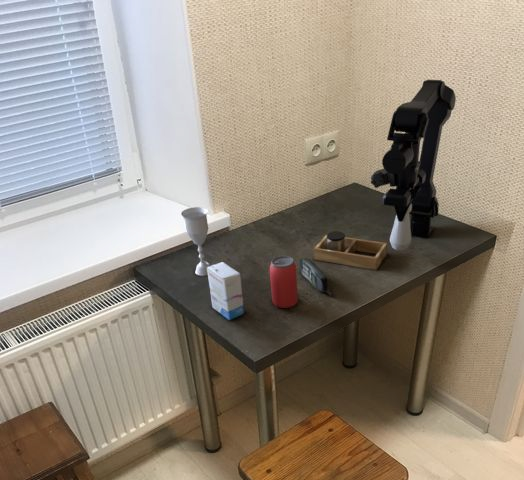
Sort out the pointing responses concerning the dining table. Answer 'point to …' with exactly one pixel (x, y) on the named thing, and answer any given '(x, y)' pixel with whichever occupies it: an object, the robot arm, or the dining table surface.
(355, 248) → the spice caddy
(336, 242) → the cylinder
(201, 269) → the chalice
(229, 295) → the ink box
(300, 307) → the dining table surface
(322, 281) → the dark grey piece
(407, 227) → the salt shaker
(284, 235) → the dining table surface
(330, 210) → the dining table surface
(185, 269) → the dining table surface
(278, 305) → the beer can
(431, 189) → the robot arm
